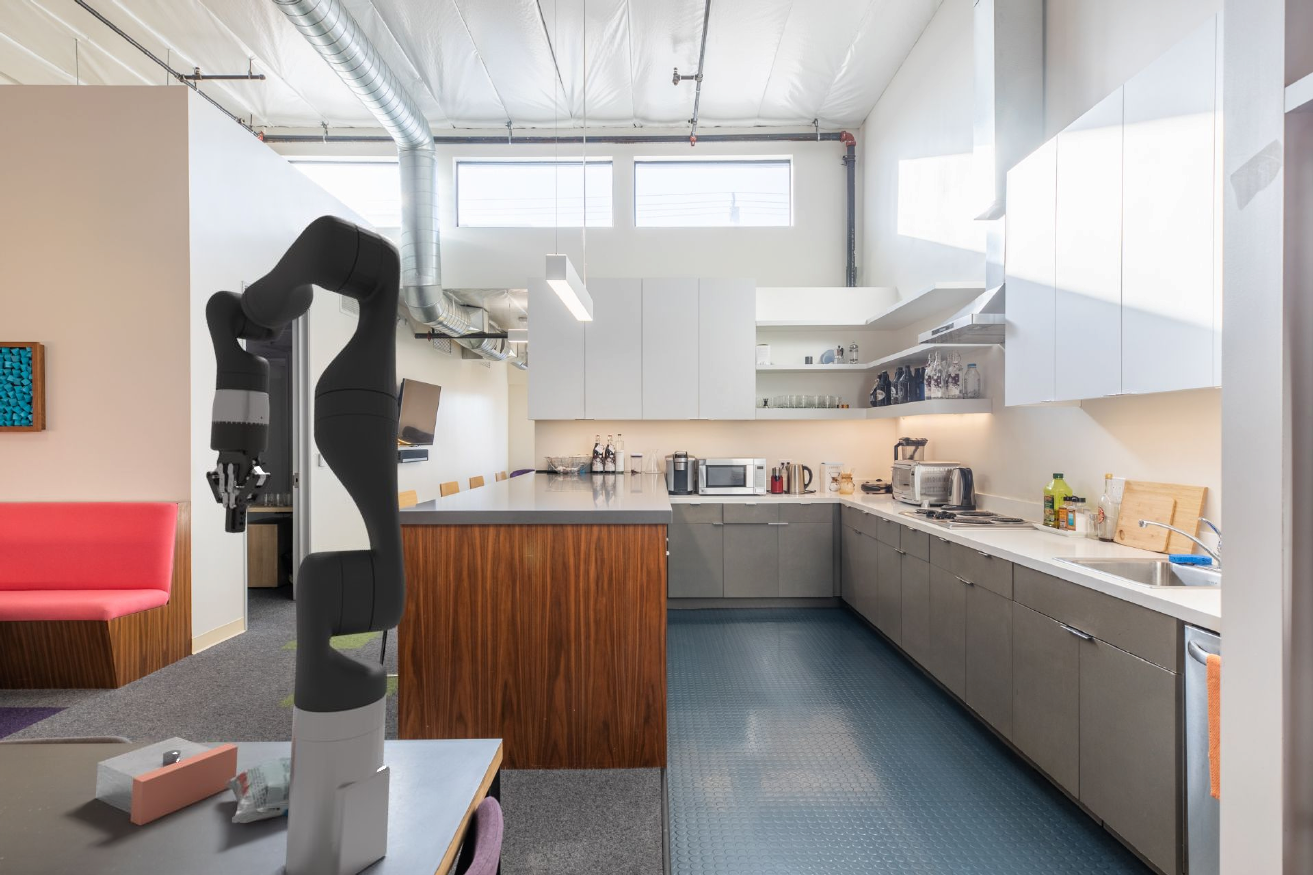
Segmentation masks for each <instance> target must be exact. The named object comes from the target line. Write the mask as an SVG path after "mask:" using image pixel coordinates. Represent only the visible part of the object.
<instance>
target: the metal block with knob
mask: <svg viewBox="0 0 1313 875" xmlns="http://www.w3.org/2000/svg"><path fill="white" fill-rule="evenodd" d="M212 749H213V748H211V747H207V746H205V745H202V744H200V743H196V742H193V741H190V740H187V739H184V738H181V737H179V736H174V737H171V738H168V739H165V740H162V741H159V742H157V743H153V744H149V745H147V746H144V747H140V748H138V749H135V750H132V751H129V752H126V753H123V754H119V755H117V756H114V757H110V758H107V759H105V760H102V761H99V762H97V772H96V773H97V774H96V790H95V791H96V792H95V799H97V800H99V801H102V803H103V802H104V803H105V804H108V805H110V806H113V807H115V808H117V809H119V810H122V812H123V811H124V812H125V813H128V814H130V815H131V806H132V790H133V778H135V777H138V776H140V775H143V774H146V773H149V772H151V771H154V770H157V769H160V768H162V767H165V766H168V765H171V764H173V763H176V762H179V761H182V760H184V759H187V758H190V757H193V756H195V755H198V754H201V753H203V752H206V751H209V750H212Z"/></svg>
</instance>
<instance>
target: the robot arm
mask: <svg viewBox="0 0 1313 875" xmlns="http://www.w3.org/2000/svg"><path fill="white" fill-rule="evenodd" d="M401 269H402V267H401V256H400V251H399V248H398V247H397V245H396V243H395V241H394V240H392V239H391V238H389V237H388V236H386V235H383V234H382V233H379V232H377V231H375V230H372V229H370V228H368V227H366V226H363V225H360V224H357V223H356V222H353V221H351V220H348V219H345V218H342V217H341V216H340V217H339V216H337V215H329V214H326V215H322V216H320V217H317V218H315V219H314V220H312V222H310V223H309V224H308V225H307V226H306V227H305V228H304V229H303V231H302V232H301V233H300V235H299V236H298V237H297V238H296V239H295V240H294V242H293V243H292V244H291V245H290V246H289V248H288V249H286V251H285V253H284V254H283V256H282V257H281V258H280V259H279V261H278V262H277V263H276V265H275V266H274V267H273V268H272V269H271V270H270V271H269V272H268V273H267V274H266V275H265V274H264V275H263V276H262V277H261V278H258V279H257V280H256V281H254V282H252V284H249V286H247V287H246V288H245V289H244V291H243V292H242V293H239V292H235V291H230V290H219V291H216V292H215V293H213V294H212V295H211V296H210V297H209V298H208V300H207V303H206V305H205V319H206V324H207V327H208V331H209V335H210V338H211V342H212V345H213V350H214V355H215V356H214V357H215V362H216V375H215V376H216V378H215V379H216V380H215V392H214V399H213V401H212V409H211V411H212V412H211V430H210V444H209V446H210V449H211V450H212V451H215V452H218V456H217V459H216V468H215V469H214V470H213V471H208V470H207V472H206V474H205V477H206V480H207V482H208V484H209V488H210V490H211V492H212V494H213V497H214V500H215V502H216V503H217V504H221V505H222V508H224V509H225V519H224V520H225V522H224V523H225V524H224V531H225V532H226V533H229V534H240V533H244V532H245V531H246V524H247V523H246V521H247V509H248V508H249V507H251V505H256V504H258V501H259V500H260V498H261V496H262V495H263V492H265V489H266V487H267V486H268V484H269V482H270V480H271V478H272V475H271V473H270V472H264V471H263V470H262V468H261V467H262V461H261V456H260V455H261V454H260V453H264V452H266V451H268V446H269V430H270V429H269V428H270V427H269V426H270V424H269V423H270V399H269V396H270V395H269V393H270V392H269V389H270V371H271V367H270V363H269V361H268V359H266V358H264V357H263V356H259V355H258V354H254V353H252V352H250V351H247V350H245V349H244V348H243V347H242V345H241V344H240V342H239V340H245V341H251V342H258V343H271V342H275V341H279V340H280V338H281V337H282V335H283V333H284V331H285V328H286V327H287V326H288V324H289V323H291V322H292V321H295V320H296V319H299V318H300V317H302V316H303V315H304V314H306V313H307V311H308V310H309V309H310V307H311V306H312V304H313V300H314V288H313V285H314V286H318V287H320V289H324V290H326V291H328V292H332V293H334V294H335V293H336V294H339V295H342V296H345V297H348V298H351V299H354V300H356V301H357V304H358V310H359V311H358V312H359V313H358V322H357V326H356V329H355V332H354V333H353V335H352V336H351V338H350V339H349V341H348V342H347V343H346V345H345V346H344V347H343V348H342V349H341V350H340V351H339V353H338V354H336V356H335V357H334V358H333V359H332V360H331V362H330V363H329V364H328V365H327V367H326V368H325V369H324V371H323V372H322V373H321V375H320V376H319V378H318V380H317V383H316V386H315V388H314V395H313V396H314V400H313V402H314V404H313V406H314V407H313V408H314V409H313V438H314V443H315V445H316V447H317V449H318V451H319V453H320V455H321V456H322V459H323V460H324V461H325V463H326V464H327V466H328V467H329V469H330V470H331V471H332V473H333V474H334V476H336V478H337V479H338V481H339V482H340V483H341V486H343V487H344V489H345V490H346V491H347V493H348V494H349V495H350V497H351V499H352V500H353V502H354V503H355V504H354V505H356V507H357V509H358V511H359V514H360V515H361V518H362V520H363V522H364V526H365V528H366V532H367V535H368V541H369V548H370V549H352V550H348V549H347V550H332V551H331V550H330V551H317V552H311V553H309V554H307V555H306V556H305V557H304V558H303V559H302V561H301V563H300V565H299V567H298V571H297V575H296V576H297V578H296V585H295V588H296V589H295V613H296V616H295V619H296V621H295V623H296V657H295V658H296V659H295V672H294V673H295V676H294V690H293V693H294V694H293V707H292V708H293V709H292V711H293V712H292V725H291V726H292V729H291V730H292V732H291V745H290V746H291V748H290V758H291V763H290V783H289V804H288V814H287V825H286V826H287V827H286V828H287V829H286V856H285V872H286V875H357V874H358V873H360V872H362V871H363V870H365V869H366V868H368V867H369V866H371V865H372V864H374V863H375V862H377V861H378V860H380V859H381V858H383V857H384V856H386V855H387V854H388V853H387V852H388V849H387V847H388V823H389V804H390V803H389V802H390V780H391V779H390V778H391V776H390V775H391V768H390V766H389V765H387V764H386V765H385V764H384V760H385V759H384V757H385V737H386V735H385V732H386V731H385V730H386V714H387V712H386V711H387V710H386V709H387V691H388V672H387V669H386V667H385V666H384V665H383V664H381V663H379V662H378V661H375V660H372V659H368V658H363V657H357V656H353V655H349V654H346V653H343V652H341V651H339V650H337V649H335V647H332V646H331V645H330V642H331V639H332V638H333V637H334V638H335V637H341V636H350V635H360V634H365V633H366V634H367V633H368V634H369V633H376V632H384V631H389V630H393V629H395V628H396V627H398V625H399V624H400V622H402V621H401V620H402V619H403V618H402V617H403V615H404V611H405V608H406V607H405V606H406V572H405V559H404V548H403V537H402V536H403V535H402V527H401V517H400V516H401V514H400V503H399V482H398V481H399V480H398V478H399V476H398V470H399V468H398V466H399V462H398V461H399V405H398V404H399V401H398V400H399V399H398V386H397V325H398V324H397V323H398V313H399V312H398V311H399V301H400V298H399V297H400V287H401V285H400V284H401Z"/></svg>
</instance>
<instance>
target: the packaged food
mask: <svg viewBox="0 0 1313 875" xmlns="http://www.w3.org/2000/svg"><path fill="white" fill-rule="evenodd" d="M290 763H291V757H280V758H277V759H273V760H270V761H266V762H265V761H264V762H262V763H260V764H258V765H255V766H253V767H250V768H248V769H246V770H242V771H241V773H238V774H237V775H236V777H234V778H232V779H231V780H229V781H227V783H226V786H227V787H228V788H227V789H229V790H231V791H232V793H233V794H234V795H235V796H234V797H235V798H236V802H237V805H236V812H235V815H234V816H232V818H231V822H232V823H233V824H237V823H242V824H247V823H251V822H253V823H254V822H257V821H263V820H268V819H271V818H272V819H273V818H276V817H280V816H284V815H286V816H287V815H288V804H289V783H290Z"/></svg>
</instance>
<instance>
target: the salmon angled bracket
mask: <svg viewBox="0 0 1313 875" xmlns="http://www.w3.org/2000/svg"><path fill="white" fill-rule="evenodd" d="M238 748H239V747H238V745H234V744H231V743H226V744H223V745H221V746H218V747H214V748H211V749H212V750H209V751H206V752H203V753H201V754H198V755H195V756H193V757H190V758H187V759H184V760H182V761H179V762H176V763H173V764H171V765H168V766H165V767H162V768H160V769H157V770H154V771H151V772H149V773H146V774H143V775H140V776H138V777H135V778H133V790H132V806H131V814H130V822H131V823H134V824H136V825H138V826H142V825H146V824H147V823H149V822H152V821H154V820H157V819H159V818H161V817H164V816H165V815H168V814H170V813H173V812H175V811H177V810H180V809H182V808H184V807H187V806H189V805H192V804H194V803H196V802H199V801H201V800H203V799H205V798H208V797H210V796H213V795H215V794H217V793H221V792H222V791H225V790H226V789H227V790H228V789H229V788H228V787H227V786H226V783H227V781H229V780H231V779H232V778H234V777H237V770H238V769H237V768H238V767H237V766H238V765H237V764H238Z"/></svg>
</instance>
